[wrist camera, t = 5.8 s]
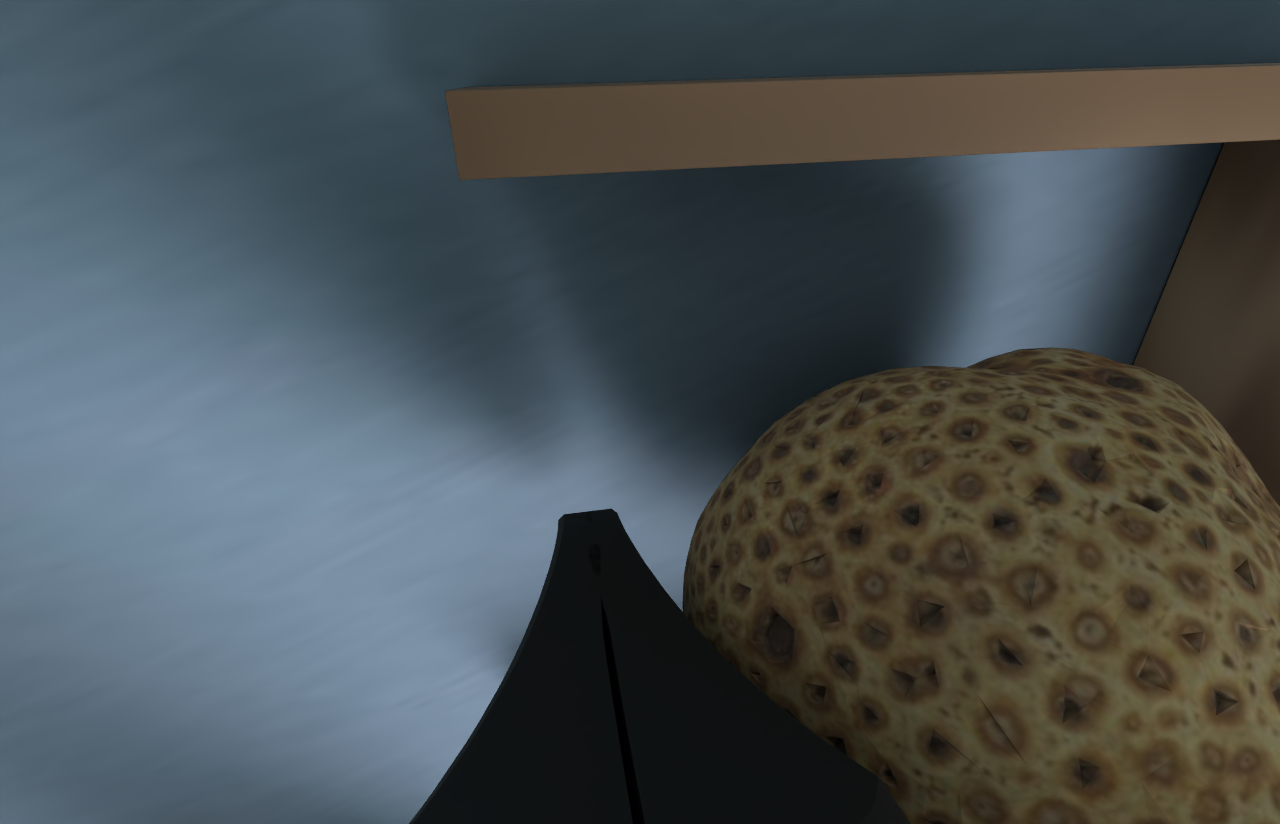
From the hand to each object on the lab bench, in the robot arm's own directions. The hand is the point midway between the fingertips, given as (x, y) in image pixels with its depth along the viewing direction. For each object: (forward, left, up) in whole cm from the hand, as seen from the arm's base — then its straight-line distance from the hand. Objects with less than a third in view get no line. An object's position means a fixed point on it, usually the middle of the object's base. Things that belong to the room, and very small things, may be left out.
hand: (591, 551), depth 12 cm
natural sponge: (0, -6, -3) cm, 7 cm away
